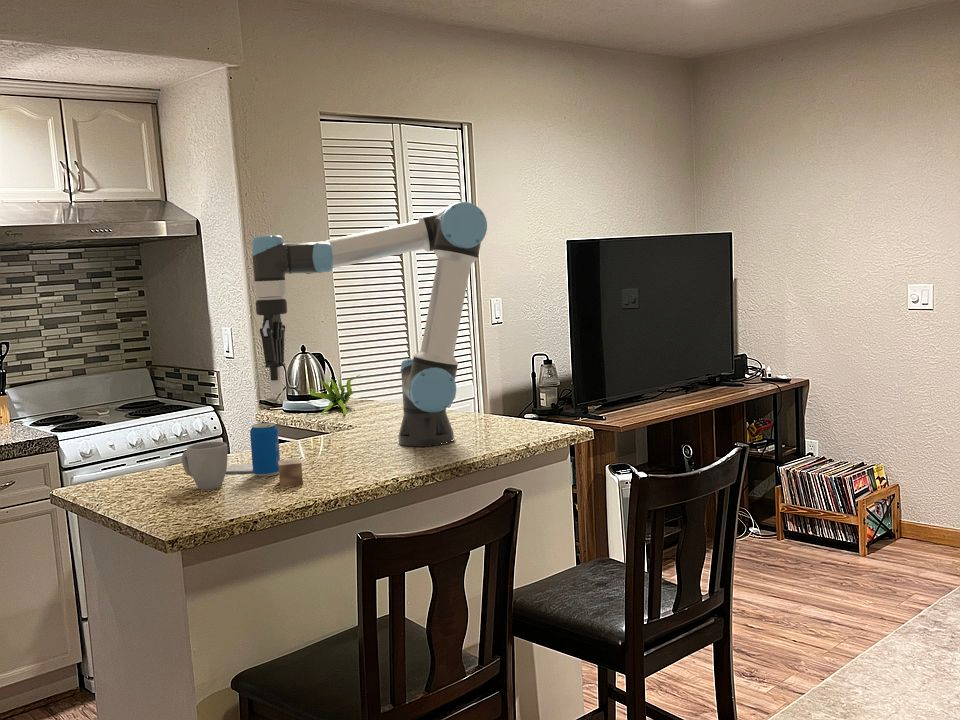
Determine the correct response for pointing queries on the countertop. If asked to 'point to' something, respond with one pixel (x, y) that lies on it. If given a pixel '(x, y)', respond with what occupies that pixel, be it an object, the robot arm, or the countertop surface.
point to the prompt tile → (240, 469)
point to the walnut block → (290, 472)
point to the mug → (206, 464)
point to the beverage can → (265, 449)
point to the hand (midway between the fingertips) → (276, 392)
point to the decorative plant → (335, 394)
